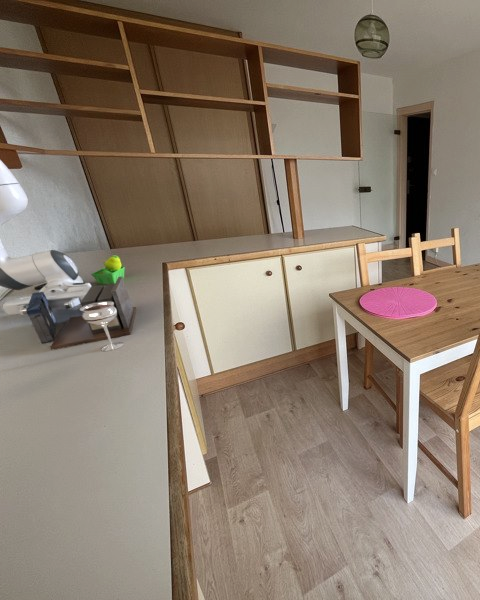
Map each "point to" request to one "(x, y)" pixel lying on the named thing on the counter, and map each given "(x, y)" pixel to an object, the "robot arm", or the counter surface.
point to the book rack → (85, 332)
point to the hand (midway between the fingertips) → (46, 309)
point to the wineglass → (101, 319)
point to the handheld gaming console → (40, 286)
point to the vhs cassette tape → (42, 317)
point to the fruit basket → (110, 271)
